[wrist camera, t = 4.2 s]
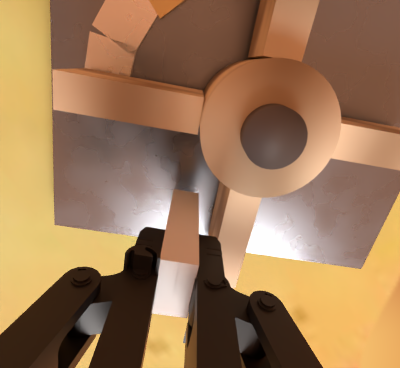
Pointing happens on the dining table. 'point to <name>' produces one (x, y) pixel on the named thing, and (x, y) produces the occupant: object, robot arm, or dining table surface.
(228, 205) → the capstan
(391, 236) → the dining table surface
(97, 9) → the stand
